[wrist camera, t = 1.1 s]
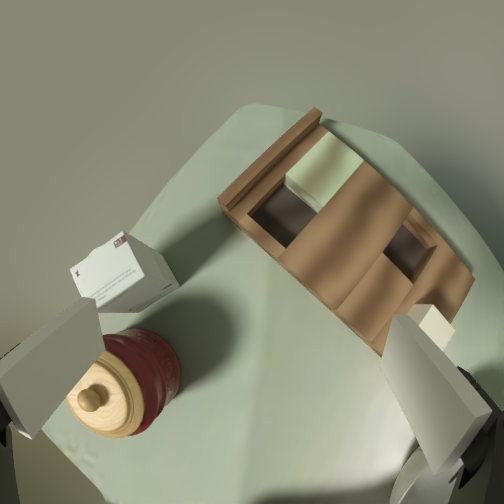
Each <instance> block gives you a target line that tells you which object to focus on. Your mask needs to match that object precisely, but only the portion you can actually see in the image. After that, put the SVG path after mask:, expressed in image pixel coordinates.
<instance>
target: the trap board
mask: <svg viewBox="0 0 504 504" xmlns="http://www.w3.org/2000/svg"><path fill="white" fill-rule="evenodd" d="M321 115H322V112H320V111H319V110H318V109H316V108H315V107H314V108H313V109H312V110H310V111H309V112H308V113H307V114H306V115H305V116H304V117H302V118H301V119H300V120H299V121H298V122H297V123H296V124H294V125H293V126H292V127H291V128H290V129H289V130H288V131H287V132H286V133H284V134H283V135H282V136H281V137H280V138H279V139H278V140H277V141H276V142H275V143H274V144H272V145H271V146H270V147H269V148H268V149H267V150H266V151H265V152H264V153H263V154H262V155H261V156H260V157H259V158H258V159H256V160H255V161H254V162H253V163H252V164H251V165H250V166H249V167H248V168H247V169H246V170H245V171H244V172H243V173H242V174H241V175H240V176H239V177H238V178H237V179H236V180H235V181H234V182H233V183H232V184H231V185H230V186H229V187H228V188H227V189H226V190H225V191H224V192H223V193H222V194H221V195H220V196H219V197H218V198H217V199H218V201H219V204H220V206H221V209H222V211H223V214H225V215H226V216H227V217H228V218H229V219H230V220H231V221H232V222H233V223H235V224H236V225H237V226H238V227H239V228H240V229H241V230H242V231H243V232H245V233H246V234H247V235H248V236H249V237H250V238H251V239H252V240H253V241H255V242H256V243H257V244H258V245H259V246H260V247H261V248H262V249H263V250H265V251H266V252H267V253H268V254H269V255H270V256H271V257H272V258H273V259H274V260H276V261H277V262H278V263H279V264H280V265H281V266H282V267H283V268H284V269H286V270H287V271H288V272H289V273H290V274H291V275H292V276H293V277H294V278H295V279H297V280H298V281H299V282H300V283H301V284H302V285H303V286H304V287H305V288H306V289H307V290H309V291H310V292H311V293H312V294H313V295H314V296H315V297H316V298H317V299H318V300H320V301H321V302H322V303H323V304H324V305H325V306H326V307H327V308H328V309H329V310H330V311H331V312H333V313H334V314H335V315H336V316H337V317H338V318H339V319H340V320H341V321H342V322H343V323H345V324H346V325H347V326H348V327H349V328H350V329H351V330H352V331H353V332H354V333H355V334H356V335H358V336H359V337H360V338H361V339H362V340H363V341H364V342H365V343H366V344H367V345H368V346H369V347H370V348H372V349H373V350H374V351H375V352H376V353H377V354H378V355H379V356H380V357H381V358H382V355H383V351H384V348H385V344H386V340H387V337H388V333H389V329H390V325H391V321H392V317H393V315H398V314H408V313H409V311H410V310H411V308H412V307H413V305H414V304H433V305H434V306H435V307H436V308H437V310H438V311H439V312H440V313H441V314H442V315H443V317H444V318H445V319H446V320H447V321H448V322H449V324H451V322H452V320H453V319H454V317H455V315H456V314H457V312H458V310H459V308H460V307H461V305H462V303H463V301H464V299H465V298H466V296H467V294H468V292H469V290H470V288H471V286H472V284H473V282H474V280H475V278H474V277H473V275H472V274H471V273H470V271H469V270H468V269H467V268H466V266H465V265H464V264H463V262H462V261H461V260H460V259H459V257H458V256H457V255H456V254H455V253H454V251H453V250H452V249H451V248H450V247H449V245H448V244H447V243H446V242H445V241H444V240H443V238H442V237H441V236H440V235H439V234H438V233H437V232H436V230H435V229H434V228H433V227H432V226H431V225H430V224H429V223H428V222H427V220H426V219H425V218H424V217H423V216H422V215H421V214H420V213H419V212H418V211H417V210H416V209H415V208H414V207H413V206H412V205H411V204H410V203H409V202H408V201H407V200H406V199H405V198H404V197H403V196H402V195H401V194H400V193H399V192H398V191H397V190H396V189H395V188H394V187H393V186H392V185H391V184H390V183H389V182H388V181H387V180H386V179H385V178H383V177H382V176H381V175H380V174H379V173H378V172H377V171H376V170H375V169H374V168H372V167H371V166H370V165H369V164H368V163H367V162H366V161H364V160H363V159H362V158H361V157H360V156H359V155H357V154H356V153H355V152H354V151H353V150H352V149H350V148H349V147H348V146H347V145H345V144H344V143H343V142H342V141H340V140H339V139H338V138H337V137H335V136H334V135H333V134H332V133H330V132H329V131H328V130H326V129H325V128H324V127H323V126H321V125H320V124H319V121H320V118H321Z"/></svg>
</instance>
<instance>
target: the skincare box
mask: <svg viewBox="0 0 504 504" xmlns="http://www.w3.org/2000/svg"><path fill="white" fill-rule="evenodd" d="M70 271H71V273H72V276H73V278H74V281H75V283H76V285H77V288H78V290H79V292H80V294H81V296H82V297H87V298H94V299H96V305H97V311H98V313H138V312H140V311H142V310H143V309H144V308H146V307H147V306H149V305H150V304H152V303H153V302H155V301H156V300H158V299H159V298H161V297H163V296H164V295H166V294H168V293H170V292H171V291H173V290H175V289H177V288H179V287H180V285H179V284H178V282H177V280H176V278H175V277H174V275H173V273H172V271H171V270H170V268H169V266H168V264H167V262H166V261H165V259H164V257H163V255H162V254H160V253H158V252H157V251H155V250H153V249H152V248H150V247H149V246H147V245H145V244H144V243H142V242H140V241H139V240H137V239H136V238H134V237H133V236H131V235H129V234H128V233H126V232H124V231H122V232H120V233H119V234H118V235H116V236H115V237H113V238H112V239H111V240H109V241H108V242H107V243H105V244H104V245H103V246H100V247H98V248H96V249H94V250H93V251H92V252H91V253H90V255H89V256H88V257H86V258H85V259H84V260H83V261H81V262H80V263H78V264H77V265H75V266H73V267H72V268H71V269H70Z"/></svg>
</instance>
